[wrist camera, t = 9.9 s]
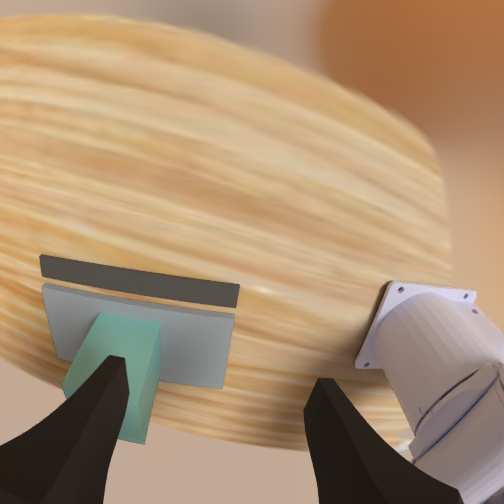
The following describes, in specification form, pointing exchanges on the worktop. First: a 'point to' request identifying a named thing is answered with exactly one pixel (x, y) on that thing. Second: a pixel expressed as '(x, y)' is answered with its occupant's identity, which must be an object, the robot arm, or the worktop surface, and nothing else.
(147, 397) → the block
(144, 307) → the mat
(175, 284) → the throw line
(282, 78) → the worktop surface
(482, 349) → the robot arm
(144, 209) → the worktop surface
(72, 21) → the worktop surface
